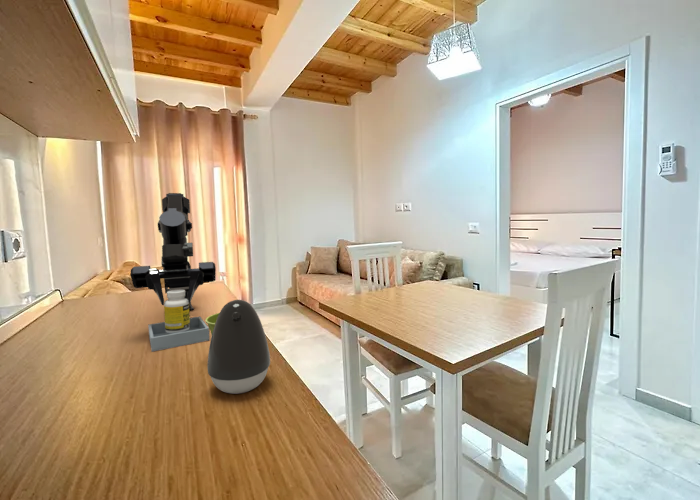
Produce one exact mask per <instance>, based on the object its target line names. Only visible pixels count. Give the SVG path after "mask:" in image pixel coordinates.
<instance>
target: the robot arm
mask: <svg viewBox="0 0 700 500" xmlns="http://www.w3.org/2000/svg"><path fill="white" fill-rule="evenodd" d="M190 203H191V202H190V199H189V198H187V197H186V196H184V193H181V192H180V193H179V192H168V193H166V194H165V197H163V198H162V199H161V207H162V213H161V214H160V215H159V216H158V217H159V220H158V222H157V230H158V232H159V233H161V237H162V238H163V239H162V240H163V241H162V243H163V244H162V245H161V249H162V250H161V267H162V269H157V268H151V265H138V266H137V265H135V266H132V268H131V269H130V275H129V276H130V280H131V282H132V286H133V288H135V289H142V288H143V289H144V288H147V289H148V290H153V291H154V293H155V294H156V296H157V297H158V299H159V302H160V304H161V306H164V303H165V298H164V294H166V295H167V292H168V291H171V290H179V289H181V290H185V297H184V298H186V299H188V302H189V311H194V310H195V308H194V307H193V305H192V299H193V298H194V295H195V293H196V291H197V289H198V288H199V286H202V285H204V283H214V282H215V281H216V275H217V273H216V271H217V270H216V269H217V267H216V264H215V262H214V261H204V262H203V261H202V262H198V268H192V266H191V265H192V264H190V262H189V260H188V257H194V248H193V247H194V245H193V242H188V239H187V236H188V233H190V232H191V231H192V229H193V223H191V221H190V219H189V214H191V207H190V205H191V204H190ZM161 279H162V280H163V284H164V292H163V288H162V287H163V286H162V282H161Z"/></svg>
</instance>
